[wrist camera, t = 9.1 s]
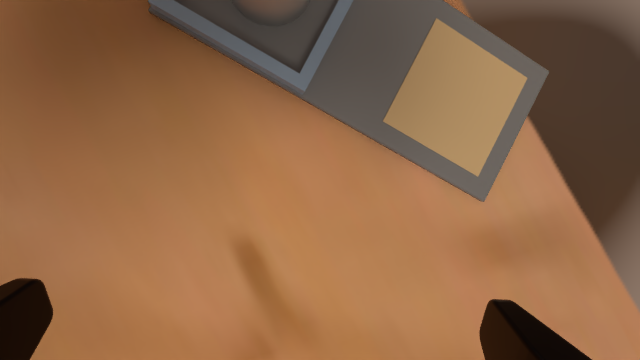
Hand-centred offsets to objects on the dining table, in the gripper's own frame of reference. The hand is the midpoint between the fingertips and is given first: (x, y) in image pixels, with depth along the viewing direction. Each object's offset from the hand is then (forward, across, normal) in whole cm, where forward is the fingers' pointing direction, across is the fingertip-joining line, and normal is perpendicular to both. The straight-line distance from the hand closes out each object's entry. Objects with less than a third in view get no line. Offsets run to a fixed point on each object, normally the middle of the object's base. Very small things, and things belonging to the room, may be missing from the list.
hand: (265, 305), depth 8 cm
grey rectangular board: (+14, -3, -4) cm, 15 cm away
